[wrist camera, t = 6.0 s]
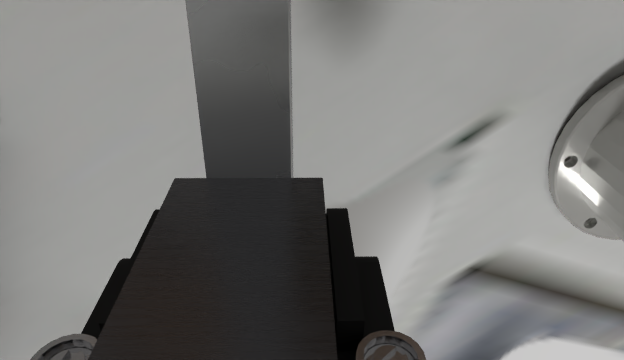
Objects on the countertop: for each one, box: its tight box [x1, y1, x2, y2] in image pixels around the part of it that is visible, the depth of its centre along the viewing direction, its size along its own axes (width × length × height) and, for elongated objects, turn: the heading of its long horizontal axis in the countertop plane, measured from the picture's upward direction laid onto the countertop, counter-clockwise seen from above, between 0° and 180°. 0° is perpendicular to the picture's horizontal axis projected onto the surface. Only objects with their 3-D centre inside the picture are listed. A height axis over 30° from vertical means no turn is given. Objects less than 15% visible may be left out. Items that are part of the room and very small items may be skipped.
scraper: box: [88, 0, 338, 360], centre depth 11 cm, size 4×24×8 cm, turn 0°
